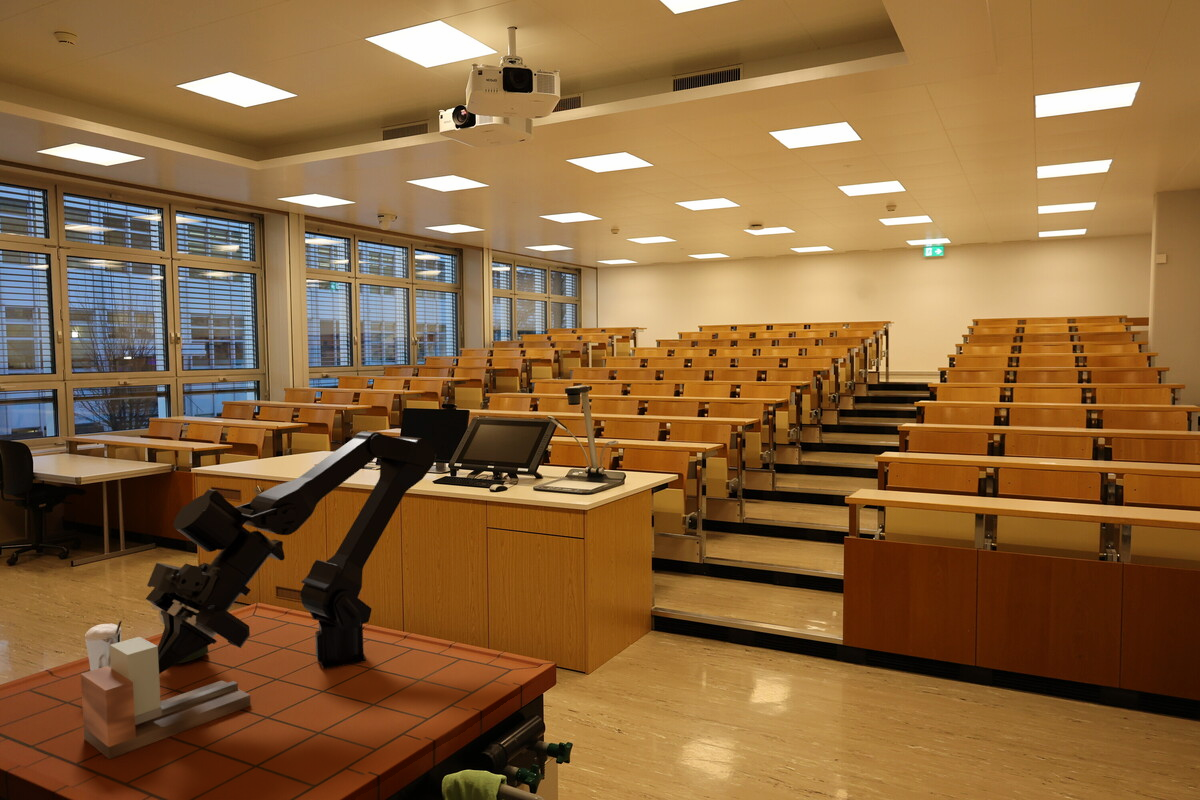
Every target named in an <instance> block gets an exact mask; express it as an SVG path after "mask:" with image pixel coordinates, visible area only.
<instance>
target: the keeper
mask: <svg viewBox="0 0 1200 800" xmlns="http://www.w3.org/2000/svg"><path fill="white" fill-rule="evenodd" d="M110 657H111V669H113V670H114V671H116V672H118V673H119V674H121V675H122V676H124V677H126V678H127V679H129V680H131V681H132V682H133V694H134V712H135V725H137V724H139V723H142V722H145V721H148V720H151V719H153V718H156V717H159V716H162V708H161V703H160V701H161V686H160V674H159V663H158V645H156V644H154V643H152V642H151V641H149V640H147V639H145V638H143V637H141V636H136V637H133V638H130V639H125V640H121V642H118V643H115V644H111V645H110Z"/></svg>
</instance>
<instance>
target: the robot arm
mask: <svg viewBox="0 0 1200 800" xmlns="http://www.w3.org/2000/svg"><path fill="white" fill-rule="evenodd" d="M436 458H437V454H436V451H435V447H434V444H433V443H432V442H431V440H428V439H427V438H421V437H411V436H402V435H401V436H396V437H394V436H390V435H386V434H383V433H381V432H378V431H369V430H366V431H365V430H364V431H359V432H358V433H356V434H355V435H354V436H353V438H352V439H350V440H349V441H348V442H347V443H345V444H344V445H342V446H340V447H339V448H338V449H337V450H335V451H334V452H332V453H331V454H330V455H328V456H327V457H325V458H324V459H323V460H321V461H319V462H318V463H317V464H316V465H314V466H313V467H311V468H310V469H309V470H307V471H305V473H303V474H301V475H300V476H299V477H297V478H294V479H293V480H290V481H289V480H288V481H286V482H283V483H281V484H280V483H279V484H277V485H275V486H273V487H271V488H268V489H267V490H265V491H263V492H261V493H259V494H257V495H256V496H255V497H253V498H252V500H251V501H249V502H247V503H244V504H241V505H237V506H234V505H233V504H231V502H229V501H228V500H227V499H226V498H225V497H224V495H222V494H221V493H220V492H219V491H218V490H217V489H211V488H210V489H207V490H206V491H205V493H203V495H200V496H198V497H196V498H194V499H192V500H191V501H190V502H189V503H188V504H185V505H183V506H182V508H181V509H180V510H179V512H177V514H176V516H175V518H174V520H173V528H174V529H175V530H177V531H178V532H179V534H182V535H183V536H185V537H186V538H187V539H189V540H190V541H192V542H193V543H194V544H195V545H197V546H199V547H200V548H201V549H203V550H204V551H205V552H207V553H212V552H215V551H217V550H218V551H219V553H218V554H217V555H216V556H215V557H214V559H213V560H212V561H211V562H210V563H208V562H207V563H206V562H203V563H200V564H199V565H193V564H190V563H185V564H183V566H182V567H180V566H176V565H172V564H167V563H160V562H156V563H155V565H154V567H153V570H152V573H151V575H150V577H149V580H148V582H147V584H146V587H148V588H153V589H152V590H151V592H150V593H148V595H147V596H146V598H145V600H146V601H147V602H149V603H151V605H152V604H154V605H155V606H157V607H159V608H160V609H162V610H161V615H162V616H163V620H164V624H163V625H164V628H163V633H162V635H161V637H160V641H159V643H158V645H157V646H158V663H159V675H160V674H163V672H165V671H167V670H168V669H170V668H171V667H173V666H175V665H177V664H179V663H178V662H180V661H181V660H183V659H185V658H186V657H188V656H190V655H192V654H193V653H195V652H197V651H199V650H201V649H202V648H204V647H206V646H208V647H209V646H210V645H212V644H213V645H215V644H216V643H218V640H216V639H215V636H216V635H219V636H220V637H222V638H223V639H225V640H226V641H227V643H229V644H230V645H232V646H235V647H237V648H239V649H241V648H242V647H243V646H244V644H245V643H246V641H247V640H248V638H250V637H251V636H250V635H251V633H250V626H249V625H248V624H247V623H245V622H244V621H243V620H241V619H240V618H238V617H237V616H235V615H234V614H232V613H231V612H229V610H230V608H231V607H232V606H233V604H234V603H235V601H237V599H238V598H239V596H240V595H242V596H245V597H247V596H248V594H249V593H250V592H251V588H249V587H248V585H249V584H250V581H251V580H252V579H253V578H254V577H255V575H256V573H257V572H258V571H259V570H260V569H261V567H262V566H263V565H264V563H265V562H266V561H267V559H268V558H272V559H275V560H278V561H284V560H285V559H286V558H285V552H284V548H283V546H284V545H283V544H284V541H282V540H280V539H275V538H274V539H272V540H271V539H270V538H268V537H267V536H266V535H265V534H263V533H262V532H261V531H263V532H268V533H271V534H275V535H280V536H289V535H291V534H293V533H295V532H298V530H299V529H300V528H301V527H302V526H303V525H304V524H305V523H306V522H307V521H308V520H309V518H310V517H311V516H312V515H313V514H314V512H315V509H316V508H317V505H318V504H319V502H321V501H322V500H323V498H324V497H326V496H328V495H329V494H330V493H331V492H333V491H334V490H336V489H337V488H338V487H339V486H341V485H342V484H343V483H345V482H346V481H347V480H348V479H350V478H351V477H352V476H354V475H355V474H356V473H358V472H359V471H360V470H361V469H363V468H364V467H366V466H367V465H368V464H370V463H371V462H372V461H373V460H375V459H377V460H380V462H379V464H380V465H379V479H378V480H377V482H376V483H375V486H374V487H373V489H372V490H371V493H370V494H369V495H368V498H367V499H366V501H365V503H364V505H363V506H362V507H361V509H360V511H359V513H358V515H357V516H356V518H355V520H354V521H353V523H352V524H351V526H350V528H349V530H348V531H347V533H346V535H345V537H344V539H343V540H342V542H341V543H340V545H339V547H338V549H337V550H336V552H335V553H334V555H333V556H332V557H330V558H328V559H327V560H326V561H324V560H320V559H316V560H315V561H314V563H312V566H311V568H310V571H309V573H308V574H307V575H306V577H305V578H303V579H302V581H301V584H303V585H302V588H301V591H300V594H299V595H300V598H301V604H302V606H303V607H304V609H305V610H307V611H308V612H309V613H310V615H311V617H312V619H313V620H315V621H318V630H316V631H315V633H314V636H315V656H316V657H315V658H316V660H317V662H318V663H320V665H321V667H322V668H321V669H323V670H325V669H326V670H327V669H332V668H337V667H342V666H343V667H344V666H348V665H352V664H359V663H364V662H366V661H367V657H366V655H365V652H364V650H365V649H364V630H363V629H364V626H363V625H364V624H366V623H369V621H370V618H371V613H372V609H373V608H371V606H369V605H368V604H366V603H365V602H364V601H363V600H361V599H360V598H359V596H360V594H361V590H362V587H363V573H364V571H363V570H364V568H365V565H366V563H367V561H369V559H370V556H371V554H372V552H373V551H374V549H375V547H376V546H377V544H378V542H379V540H380V539H381V537H382V536H383V533H384V531H385V530H386V528H387V526H388V524H389V523H390V521H391V519H392V517H393V515H394V514H395V512H396V511H397V508H398V506H399V505H400V503H401V501H402V500H403V498H404V496H405V494H406V493H407V492H408V491H409V490H410V489H411V488H412V487H414V486H415V485H416V484H418V483H419V482H421V481H422V480H423V479H424V477H426V475H427V474H428V472H430V470H431V469H432V467H433V466H434V464H435V463H436ZM244 525H246V526H250V527H254V528H255V529H258V530H253V531H249V530H248V529H247V528H245V527H244ZM259 530H260V531H259Z"/></svg>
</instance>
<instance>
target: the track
mask: <svg viewBox="0 0 1200 800" xmlns="http://www.w3.org/2000/svg"><path fill="white" fill-rule="evenodd" d="M80 683H81V685H80V686H81V702H82V717H83V718H82V719H83V720H82V721H83V735H84V736H83V737H84V741H86V742H87V743H88V744H89V745H91V746H93V747H94V749H96V750H97V751H98V752H100V753H101V754H102V755H103V756H105V757H106V758H107V759H109V760H111V759H113V758H117V757H120V756H122V755H124V754H126V753H129V752H133V751H134V750H138V749H140V748H143V747H145V746H148V745H151V744H154V743H155V742H158V741H160V740H163V739H167V738H169V737H171V736H174V735H177V734H180V733H182V732H185V731H186V730H187V731H188V730H190V729H192V728H195V727H198V726H201V725H203V724H205V723H208V722H210V721H214V720H216V719H220V718H222V717H224V716H227V715H229V714H232V713H235V712H238V711H240V710H243V709H245V708H249V707H250V706H251V694H249V693H247V692H246V691H243V690H242V689H239V685H238V684H239V683H238V682H236V681H235V680H232V681H229V682H226V681H224V680H219V681H216V682H213V683H209V684H207V685H204V686H201V687H198V688H195V689H193V690H192V689H191V690H190V691H187V692H184V693H181V694H177V695H175V696H172V697H168V698H167V699H164V700H160V703H161V708H162V716H159V717H156V718H153V719H151V720H148V721H145V722H142V723H139V724H137V725H135V712H134V694H133V682H132V681H131V680H129V679H127V678H126V677H124V676H122V675H121V674H119V673H118V672H116V671H114V670H113V669H111V668H110V667H108V666H106V667H102V668H99V669H96V670H92V671H91V670H89V671H86V672H82V673H80Z"/></svg>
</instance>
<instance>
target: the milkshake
mask: <svg viewBox="0 0 1200 800" xmlns="http://www.w3.org/2000/svg"><path fill="white" fill-rule="evenodd" d="M122 622H123V620H119V621H118V624H114V623H102V624H97V625H94V626H92V627H91V628H89V629H88V631H87V632H86V633H84V634H85V635H84V640H85V644H86V650H87V651H86V652H87V655H88V656H87V657H88V662H89V668H90V669H89V671H92V670H96V669H99V668H102V667H106V666H108V667H110V668H111V657H110V645H111V644H115V643H118V642H122V632H123V631H122V627H121V624H122Z"/></svg>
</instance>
